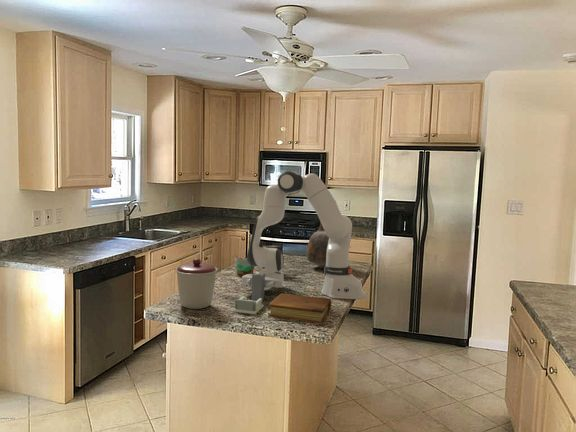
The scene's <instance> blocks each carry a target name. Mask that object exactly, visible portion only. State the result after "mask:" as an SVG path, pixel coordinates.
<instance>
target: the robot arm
mask: <svg viewBox="0 0 576 432" xmlns="http://www.w3.org/2000/svg"><path fill="white" fill-rule="evenodd" d="M300 192H302V193H303V194H304V196H305V197H306V198H307V201H308V202H309V203H310V205H311V207H312V208H313V210H314V211H315V213H316V215H317V217H318V220H319V221H320V222H321V224H322V226H323V228H324V230H325V233H326V235H327V236H328V237H329V241H328V246H327V252H326V265H325V268H324V269H323V270H324V272H323V273H324V280H323V285H322V289H321V294H322V295H325V296H327V297H329V298H330V299H341V300H342V299H343V300H344V299H346V300H364V299H366V298H367V292H366V291H364V290H363V284H362V282H361V281H360V280H359V279H358V278H357V277H356V276H355V275H353V267H350V266H349V257H350V256H349V255H350V254H349V253H350V245H351V240H352V231H353V222H352V220H351V219H350V217H348V216H347V215H344V214H342V213H341V210H340V209H339V207H338V204H337V201H336V200H335V198H334V196H333V195H332V193H331V191H330V190H329V188H328V187H327V186H326V184H325V183H324V182H323V179H321V178H320V177H319V176H318V175H317V174H316V173H313V172H312V173H308V174H306V175H304V176H301V174H299V173H297V172H296V171H291V170H285V171H283V172H282V173H281V174H280V175H279V176H278V177H277V184H270V185H268V186H267V187H266V188H265V191H264V196H263V203H262V205H263V207H262V211H261V213H260V214H259V215H258V216H257V217H256V219H255V221H254V226H253V228H252V234H251V238H250V242H249V247H248V251H247V253H246V258H247V262H248V263H249V264H250V265H251V266H254V267H262V266H263V267H266V268H265V269H263V270H262V269H261V270H260V271H259V272H260V273H265V288H283V287H284V278H285V276H284V273H283V267H284V261H285V260H284V259H285V258H284V254H283V252H282V250H281V251H280V250H279V249H276V248H263V247H260V243H261V237H262V232H263V230H264V229H266V228H267V227H270V226H274V225H276V224H278V223H280V222H281V221H282V220H283V219H284V217H285V211H286V208H285V207H286V199H287V197H288V196H292V195H295V194H298V193H300ZM253 274H254V273H253ZM253 274H246V275H244V276H242V277H241V284H243V285H246V286H252V275H253Z"/></svg>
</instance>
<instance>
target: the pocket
mask: <svg viewBox="0 0 576 432" xmlns="http://www.w3.org/2000/svg"><path fill="white" fill-rule="evenodd" d="M262 308H264V304H263V300H262V298H259V299H258V300H257V301H256V300H250V299H246V296H245V295H243V296H241V297H240V298H235V299H234V308H233V311H232V312H235V313H243V314H250V315H251V314H252V315H257V314H258V313H259V312H260V311H261V310H262Z"/></svg>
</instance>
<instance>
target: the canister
mask: <svg viewBox="0 0 576 432" xmlns="http://www.w3.org/2000/svg"><path fill="white" fill-rule="evenodd" d="M217 271H219V269H218V268H217V267H216V266H214V265H212V264H210V263H204V262H202V260H201V259H200V258H194V259H193V260H192V263H191V262H189V263H184V264H181V265H179V266H177V267H176V268H175V272H176V276H177V277H176V279H177V288H178V296H179V303H180V304H181V306H182V307H183V308H187V309H189V310H190V309H191V310H201V309H205V308H208V307H209V306H210V305H211V303H212V301H213V297H214V291H215V284H216V275H217Z"/></svg>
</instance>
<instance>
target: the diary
mask: <svg viewBox="0 0 576 432" xmlns="http://www.w3.org/2000/svg"><path fill="white" fill-rule="evenodd" d="M331 306H332V298H324V297H318V296H307V295H298V294H289V293H281V292H280V294H279V295H277V296H276V297H275V298H274V299H273V300H272V301H271V302H270V303H269V304H268V307H270V313H269V314H268V317H272V318H273V317H274V318H279V319H280V318H281V319H289V320H295V321H296V320H297V321H305V322H312V323H318V324H323V323H324V321H325V319H326V318H327V316H328V315H329V313H330V312H331V308H332V307H331Z"/></svg>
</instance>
